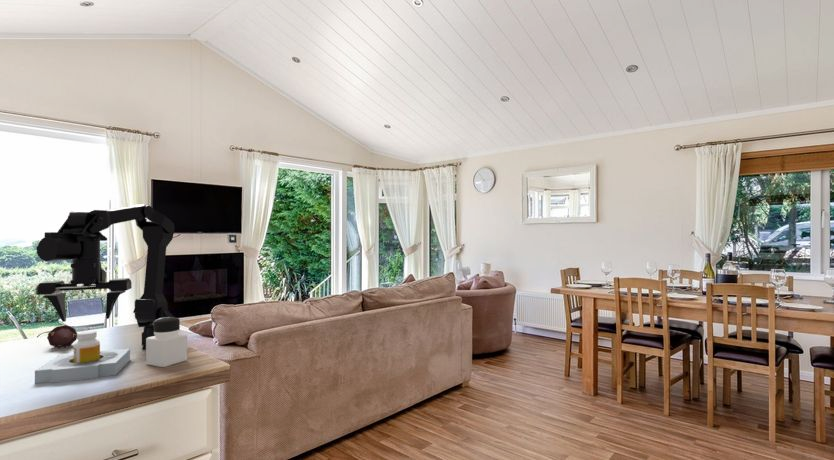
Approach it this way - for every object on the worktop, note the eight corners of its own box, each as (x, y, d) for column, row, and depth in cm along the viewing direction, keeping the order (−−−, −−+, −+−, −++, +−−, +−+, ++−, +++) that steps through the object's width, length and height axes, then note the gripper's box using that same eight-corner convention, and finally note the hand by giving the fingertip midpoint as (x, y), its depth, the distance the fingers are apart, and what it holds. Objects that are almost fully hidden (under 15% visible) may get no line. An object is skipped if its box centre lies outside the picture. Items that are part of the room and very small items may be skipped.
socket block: (131, 358, 121) (131, 347, 121) (114, 376, 106) (114, 363, 106) (60, 365, 115) (60, 354, 115) (32, 384, 100) (32, 371, 100)
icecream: (84, 327, 133) (76, 325, 143) (54, 325, 128) (47, 322, 138) (77, 350, 131) (69, 346, 141) (46, 349, 126) (40, 345, 136)
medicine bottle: (187, 360, 119) (187, 316, 119) (163, 367, 112) (163, 321, 112) (170, 357, 122) (170, 314, 122) (145, 364, 115) (145, 319, 115)
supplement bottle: (105, 367, 113) (105, 330, 113) (87, 374, 108) (87, 335, 108) (86, 367, 114) (86, 330, 114) (67, 373, 108) (67, 334, 108)
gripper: (136, 256, 122) (136, 312, 122) (54, 258, 115) (54, 317, 115) (126, 258, 111) (126, 319, 111) (35, 260, 105) (35, 325, 104)
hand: (86, 320), depth 111 cm, fingers open, 9 cm apart
